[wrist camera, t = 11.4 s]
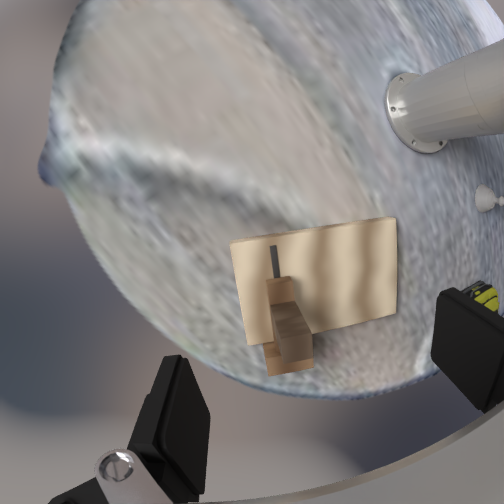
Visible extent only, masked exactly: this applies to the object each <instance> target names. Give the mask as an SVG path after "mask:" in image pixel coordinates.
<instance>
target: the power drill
mask: <svg viewBox="0 0 504 504" xmlns="http://www.w3.org/2000/svg"><path fill="white" fill-rule="evenodd" d="M461 292H463V293H464V294H466V295H468V296H469V297H471V298H473V299H474V300H476V301H478V302H479V303H481V304H483V305H484V306H486V307H487V308H489V309H491V310H492V311H494V312H495V313H497V314H498V308H499V303H500V302H498V293H497V291H496V290H495V288H493V287H492V285H490V284H485V283H484V281H478V282H477V283H475V284H473V285H472V286H470V287H468V288H466V289H464V290H462V291H461ZM498 315H499V314H498Z"/></svg>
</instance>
